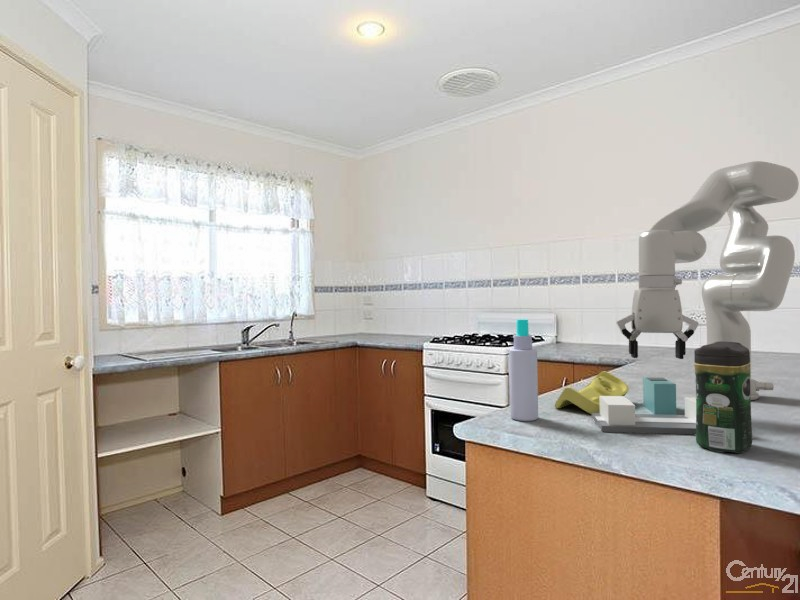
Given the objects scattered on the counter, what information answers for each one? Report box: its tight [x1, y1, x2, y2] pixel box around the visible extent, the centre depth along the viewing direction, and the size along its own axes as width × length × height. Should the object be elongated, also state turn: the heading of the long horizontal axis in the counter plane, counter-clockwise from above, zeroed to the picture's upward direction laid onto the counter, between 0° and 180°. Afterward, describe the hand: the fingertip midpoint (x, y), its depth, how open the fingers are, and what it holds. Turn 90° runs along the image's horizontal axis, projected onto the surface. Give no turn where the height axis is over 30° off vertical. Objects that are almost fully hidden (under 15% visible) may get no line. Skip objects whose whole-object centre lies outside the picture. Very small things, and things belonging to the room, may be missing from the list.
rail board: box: [591, 396, 696, 435], centre depth 103 cm, size 25×11×5 cm, turn 79°
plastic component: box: [554, 370, 630, 415], centre depth 123 cm, size 20×7×10 cm
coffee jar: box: [693, 341, 753, 454], centre depth 89 cm, size 10×8×19 cm
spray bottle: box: [508, 318, 539, 422], centre depth 112 cm, size 6×6×22 cm
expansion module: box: [642, 376, 677, 415], centre depth 117 cm, size 4×9×7 cm, turn 169°
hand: (656, 357), depth 116 cm, fingers open, 9 cm apart
